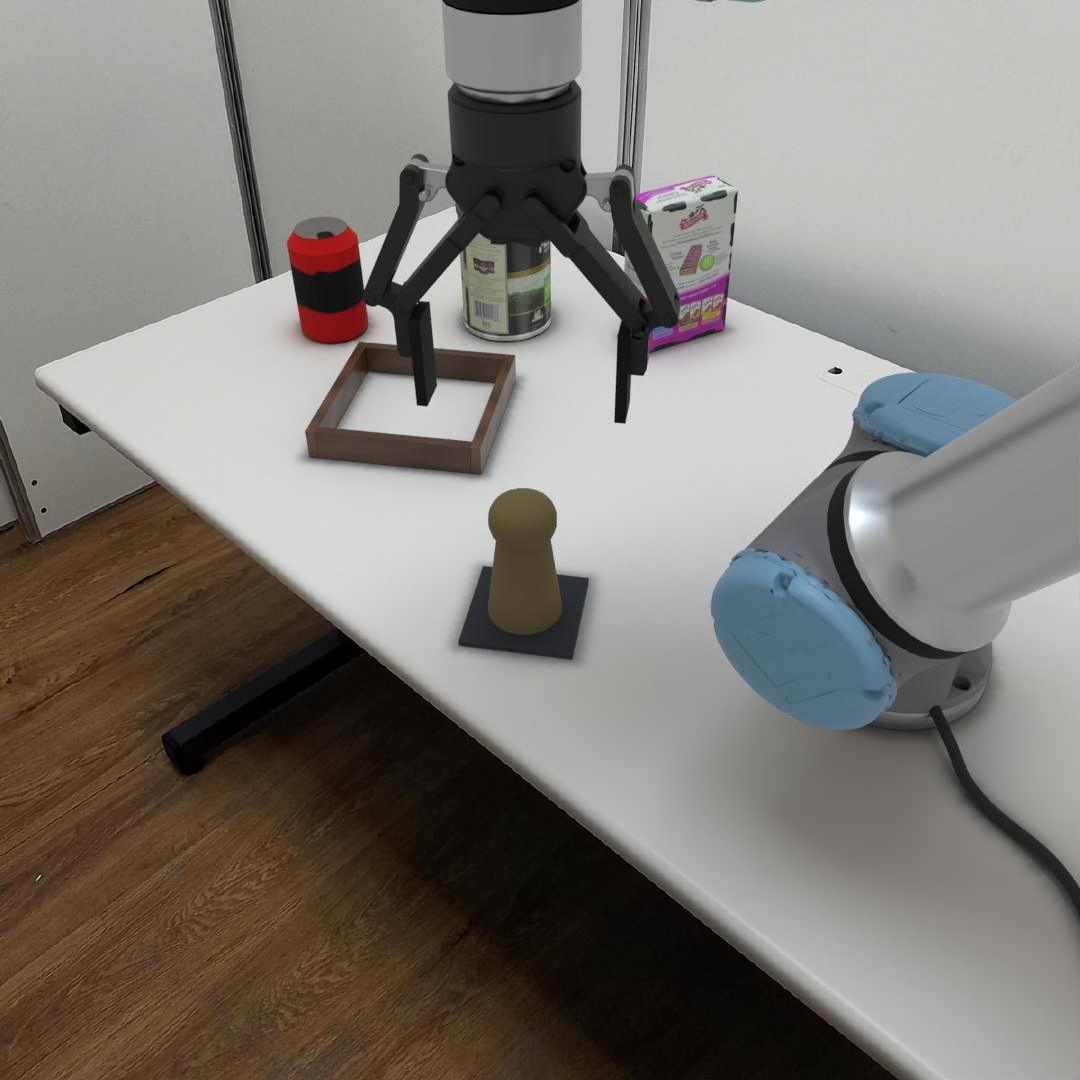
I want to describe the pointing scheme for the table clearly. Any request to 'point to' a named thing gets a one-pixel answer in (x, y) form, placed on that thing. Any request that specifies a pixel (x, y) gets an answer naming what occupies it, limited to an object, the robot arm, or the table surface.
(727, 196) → the candy bar box
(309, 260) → the soda can
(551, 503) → the olive pawn
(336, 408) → the wooden frame
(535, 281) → the coffee can
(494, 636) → the mat
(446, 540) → the table surface
